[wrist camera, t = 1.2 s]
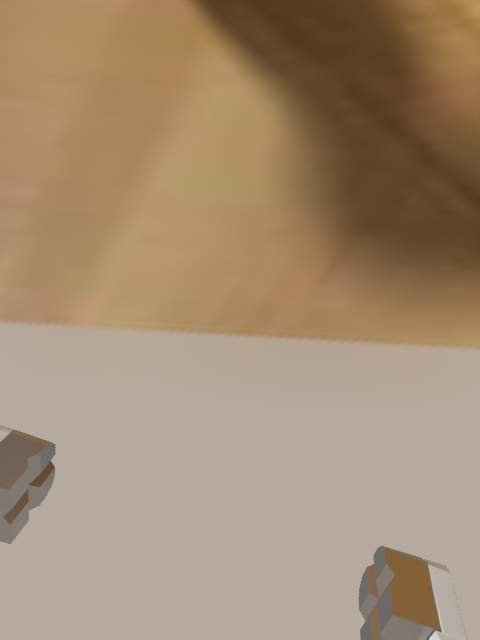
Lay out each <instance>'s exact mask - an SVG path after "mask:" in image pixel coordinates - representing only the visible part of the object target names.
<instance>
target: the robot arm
mask: <svg viewBox="0 0 480 640" xmlns="http://www.w3.org/2000/svg"><path fill="white" fill-rule="evenodd" d="M54 455H55V444H54V443H51V442H48V441H46V440H43V439H40V438H37V437H34V436H31V435H28V434H25V433H23V432H20V431H17V430H13V429H10V428H7V427H4V426H1V425H0V541H2V542H5V543H9V544H11V543H12V541H13V540H14V539H15V538H16V536H17V535H18V533H19V532H20V531H21V530H22V528H23V527H24V526H25V524H26V523H27V522H28V516H29V513H28V511H29V510H31V509H33V508H35V507H37V506H39V505H40V504H41V503H42V501H43V500H44V499H45V497H46V496H47V494H48V492H49V490H50V488H51V485H52V483H53V479H54V475H55V467H54V465H53V464H52V462H51V459H52V458H53V456H54ZM359 610H360V612H361V613H362V615H363V617H364V618H365V620H366V621H365V623H364V625H363V626H362V628H361V630H360V635H361V640H467V636H466V633H465V629H464V625H463V621H462V617H461V613H460V610H459V605H458V602H457V598H456V595H455V590H454V586H453V582H452V578H451V574H450V571H449V569H448V568H447V566H445V565H442V564H438V563H435V562H432V561H429V560H426V559H422V558H420V557H417V556H413V555H410V554H407V553H403V552H400V551H397V550H394V549H390V548H387V547H383V546H380V547H379V548H378V549H377V550H376V552H375V554H374V564H373V565H371V566H369V567H367V568H366V570H365V572H364V574H363V576H362V580H361V584H360V589H359Z"/></svg>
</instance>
